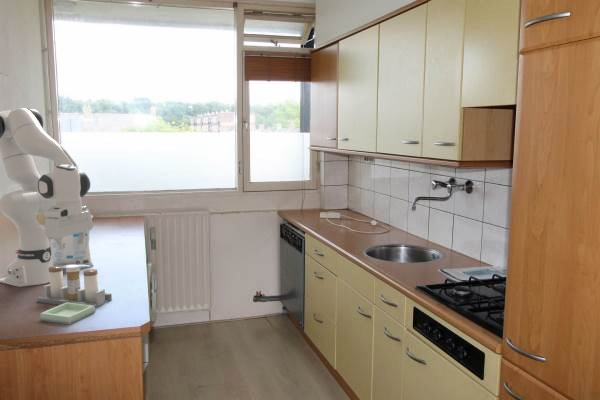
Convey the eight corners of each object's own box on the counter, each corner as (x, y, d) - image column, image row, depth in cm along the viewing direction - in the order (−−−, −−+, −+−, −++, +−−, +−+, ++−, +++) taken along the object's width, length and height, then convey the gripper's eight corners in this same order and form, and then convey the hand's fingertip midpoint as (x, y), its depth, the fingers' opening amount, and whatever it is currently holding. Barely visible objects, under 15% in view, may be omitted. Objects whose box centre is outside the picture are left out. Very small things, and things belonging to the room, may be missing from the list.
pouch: (92, 268, 243) (89, 225, 240) (47, 271, 239) (44, 227, 236) (94, 264, 251) (92, 222, 248) (51, 266, 247) (48, 224, 244)
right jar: (82, 304, 194) (80, 272, 192) (91, 300, 198) (89, 268, 196) (92, 305, 192) (91, 273, 190) (101, 301, 196) (100, 269, 195)
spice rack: (37, 301, 197) (36, 288, 196) (58, 293, 207) (57, 280, 206) (92, 308, 189) (91, 295, 188) (111, 299, 198) (111, 287, 198)
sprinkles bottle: (78, 298, 201) (75, 263, 199) (83, 300, 198) (81, 265, 196) (65, 301, 197) (63, 265, 196) (71, 303, 194) (69, 268, 193)
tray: (41, 320, 178) (40, 313, 177) (67, 308, 189) (67, 302, 188) (69, 324, 174) (69, 317, 173) (94, 312, 185) (94, 305, 185)
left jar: (47, 299, 199) (45, 268, 197) (57, 296, 203) (55, 265, 202) (57, 301, 197) (55, 269, 196) (67, 297, 202) (65, 266, 200)
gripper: (82, 205, 204) (84, 240, 206) (40, 213, 185) (43, 251, 186) (95, 205, 202) (97, 241, 203) (54, 213, 182) (57, 253, 184)
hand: (71, 246), depth 195 cm, fingers open, 8 cm apart
